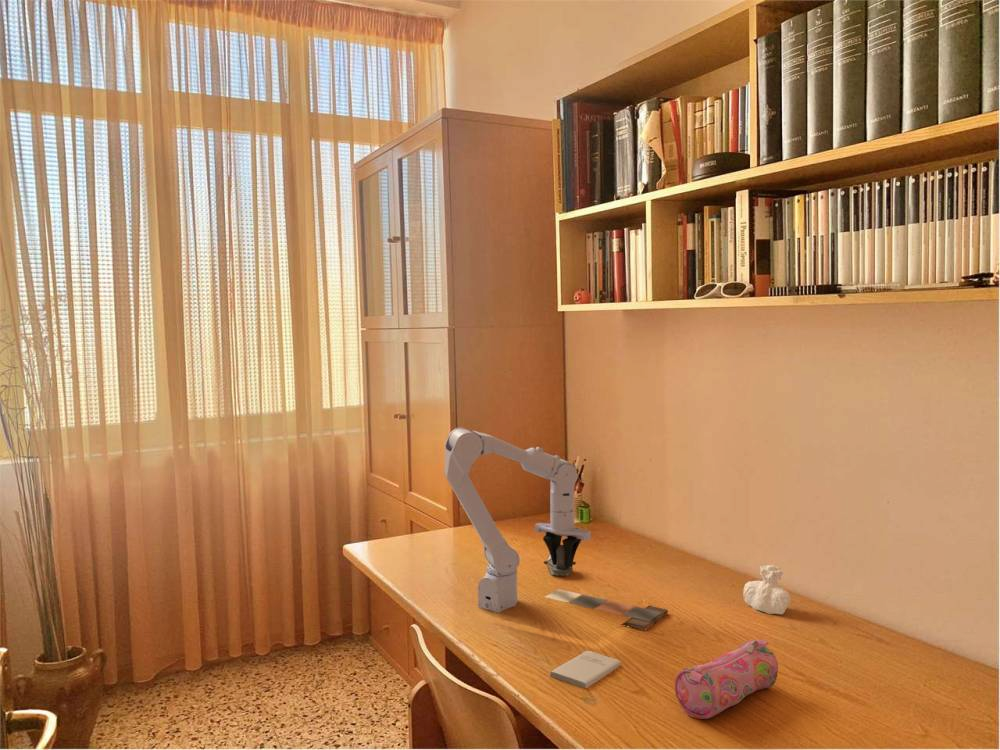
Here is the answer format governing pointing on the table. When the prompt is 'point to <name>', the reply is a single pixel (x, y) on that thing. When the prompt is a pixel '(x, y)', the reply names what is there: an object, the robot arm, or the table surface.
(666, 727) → the table surface
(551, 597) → the board
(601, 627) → the table surface
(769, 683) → the pencil case
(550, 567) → the game die
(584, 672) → the external hard drive
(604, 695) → the table surface
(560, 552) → the pawn
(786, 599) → the bust
